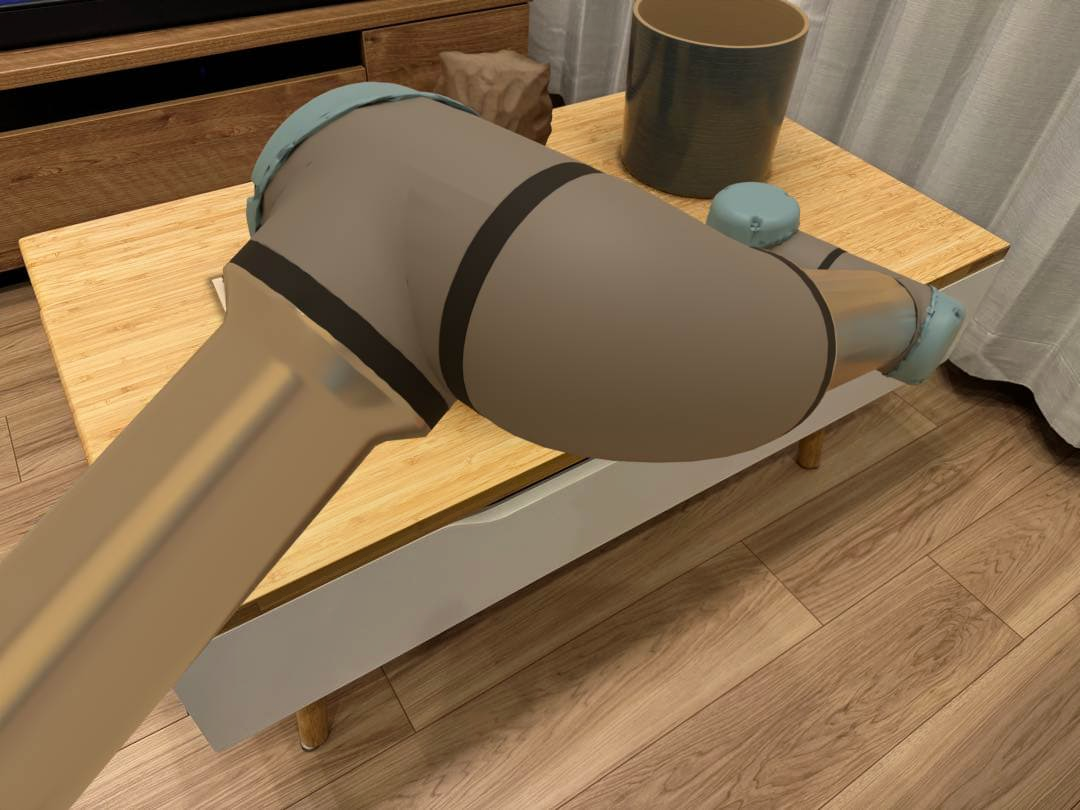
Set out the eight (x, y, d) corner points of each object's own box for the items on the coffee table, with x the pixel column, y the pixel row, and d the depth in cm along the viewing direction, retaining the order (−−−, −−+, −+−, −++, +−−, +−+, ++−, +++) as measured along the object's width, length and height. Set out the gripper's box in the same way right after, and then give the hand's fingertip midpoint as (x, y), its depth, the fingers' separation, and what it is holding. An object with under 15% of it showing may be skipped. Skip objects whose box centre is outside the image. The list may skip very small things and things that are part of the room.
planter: (750, 124, 121) (783, -16, 107) (789, 200, 106) (833, 48, 91) (609, 124, 120) (622, -18, 105) (628, 201, 104) (646, 47, 90)
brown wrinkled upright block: (427, 208, 102) (414, 52, 88) (508, 181, 107) (507, 30, 93) (479, 255, 95) (473, 93, 81) (562, 224, 100) (570, 67, 86)
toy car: (237, 318, 85) (232, 301, 83) (219, 276, 90) (213, 259, 88) (275, 307, 86) (270, 290, 84) (255, 267, 91) (250, 250, 90)
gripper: (611, 434, 72) (370, 409, 73) (622, 296, 86) (420, 277, 88) (619, 375, 66) (359, 349, 68) (629, 239, 81) (414, 220, 82)
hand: (394, 309), depth 78 cm, fingers closed on cup, 8 cm apart
